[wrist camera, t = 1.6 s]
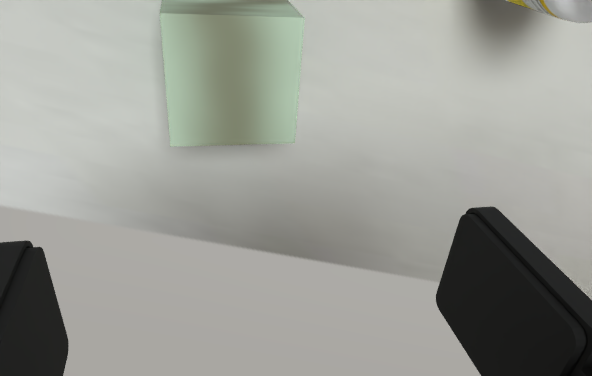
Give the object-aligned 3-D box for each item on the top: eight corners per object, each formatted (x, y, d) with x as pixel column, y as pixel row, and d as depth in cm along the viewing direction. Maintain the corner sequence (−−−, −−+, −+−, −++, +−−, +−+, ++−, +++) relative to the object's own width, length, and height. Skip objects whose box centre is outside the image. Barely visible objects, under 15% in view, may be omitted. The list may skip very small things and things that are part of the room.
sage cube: (280, -8, 25) (304, 17, 20) (275, 98, 28) (294, 143, 23) (164, -13, 23) (159, 13, 19) (172, 99, 27) (170, 146, 22)
